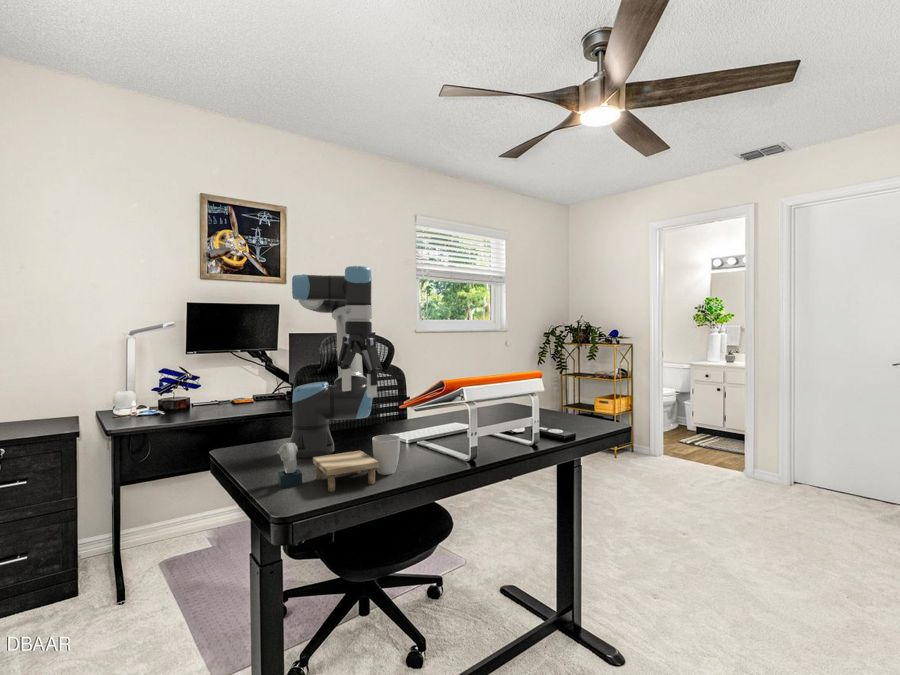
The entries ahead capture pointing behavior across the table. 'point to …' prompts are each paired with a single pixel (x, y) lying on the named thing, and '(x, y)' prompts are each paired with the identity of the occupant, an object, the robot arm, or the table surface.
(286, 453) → the watch
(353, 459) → the small wooden table
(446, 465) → the table surface
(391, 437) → the cup
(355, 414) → the robot arm
